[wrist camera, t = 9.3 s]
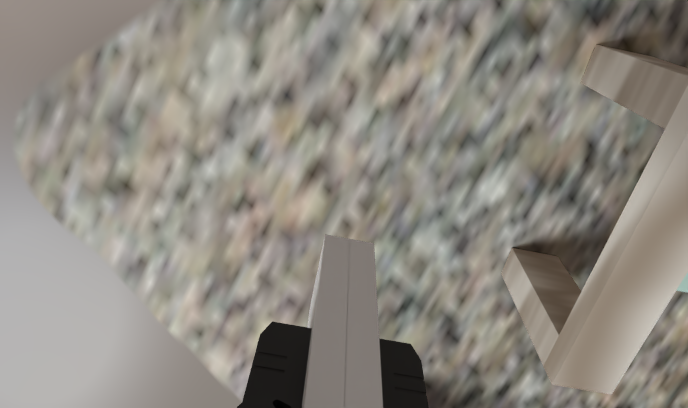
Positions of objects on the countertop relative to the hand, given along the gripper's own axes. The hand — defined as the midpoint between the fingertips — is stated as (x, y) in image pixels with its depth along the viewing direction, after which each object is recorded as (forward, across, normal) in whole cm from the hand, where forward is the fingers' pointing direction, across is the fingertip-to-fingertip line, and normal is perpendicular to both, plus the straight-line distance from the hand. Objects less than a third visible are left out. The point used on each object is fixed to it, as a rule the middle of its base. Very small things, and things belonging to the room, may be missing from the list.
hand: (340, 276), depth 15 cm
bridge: (+14, -13, 0) cm, 19 cm away
